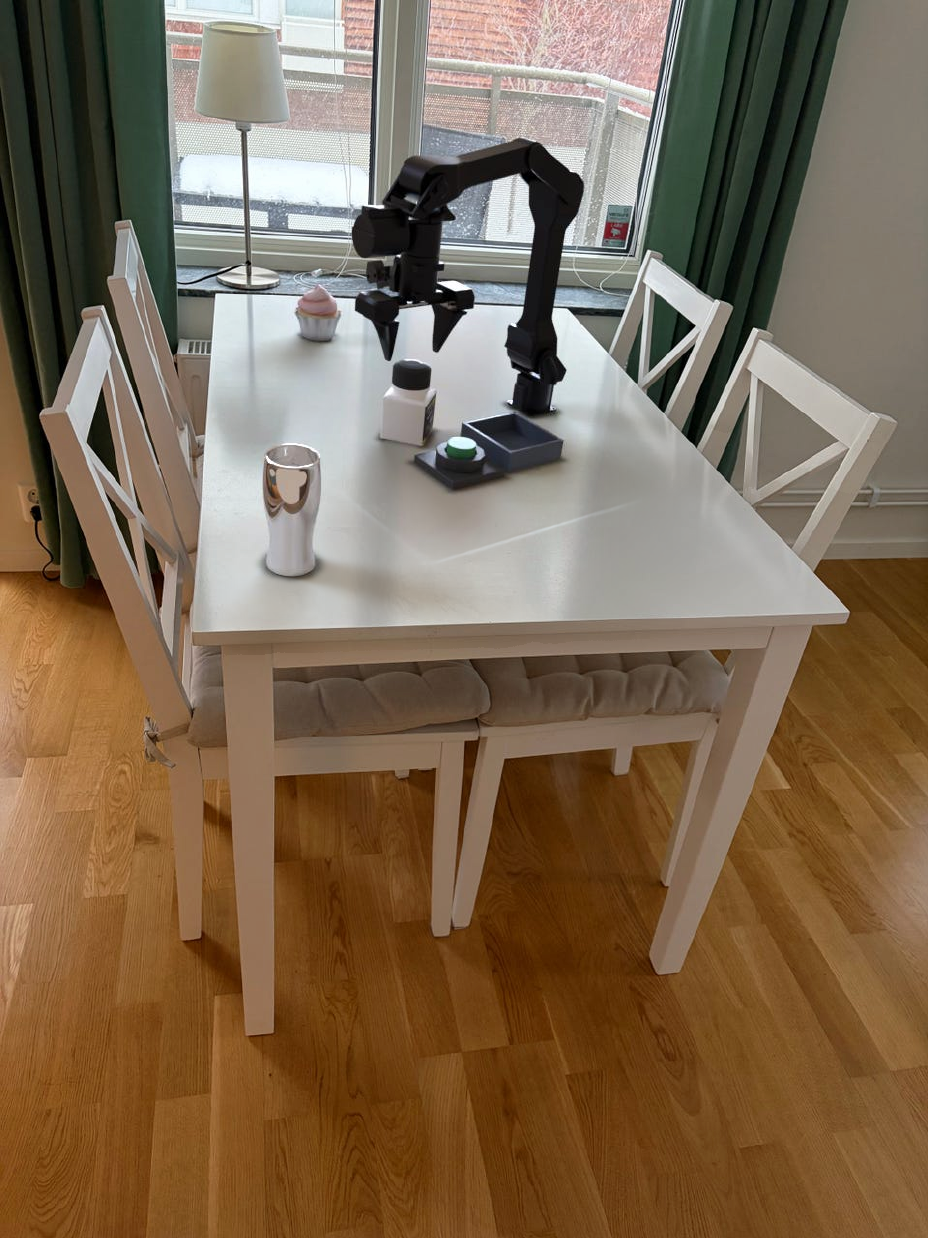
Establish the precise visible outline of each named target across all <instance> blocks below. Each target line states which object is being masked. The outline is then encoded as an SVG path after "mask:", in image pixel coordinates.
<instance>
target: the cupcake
mask: <svg viewBox="0 0 928 1238" xmlns="http://www.w3.org/2000/svg"><path fill="white" fill-rule="evenodd" d="M338 308H339V306H338V302H337V300H336V298H335V297H334V296H332V294H330V293H329V291H327V289H326V288H324V287H323V286H321V285H320V284H318V283H316V285H315V287H314V289H311V290H308V291H307V292H305V293H304V294H303V295H302V297H300V298H299V299H298V300H297V306H296V307H294V311H293V313H294V316H295V317H296V319H297V321H298V325H299V331H300V335H301V336H302V337H303V338H305V339H307V340H311V341H315V342H323V341H330V340H332V339H333V338H334V336H335V335H336V330H337V327H338V323H339V321H340V320H341V317H342V310H340V309H338Z"/></svg>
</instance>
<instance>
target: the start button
mask: <svg viewBox="0 0 928 1238" xmlns="http://www.w3.org/2000/svg"><path fill="white" fill-rule="evenodd" d="M446 442H447V450H446V453H447V454H448V455H450V456H452V457H456V458H465V459H468V458H472V457H474V456H475V451H476V443H475V442H474V441H473V440H471V439H469V438H465V437H461V436H453V437H450V438H448V439H447V441H446Z"/></svg>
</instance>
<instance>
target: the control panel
mask: <svg viewBox="0 0 928 1238" xmlns="http://www.w3.org/2000/svg"><path fill="white" fill-rule="evenodd" d="M446 450H447V441H445V442H444V441H443V442H441V443H440V444H438V446H436V449H434V450H429V451H425V452H421V453H420V452H419V453H416V454H414V455H413V464H415V465H416V466H417V467H419V468H420V469H421V470H423V471H424V472H426V473H427V474H429V475H430V476H432V477H433V478H434V479H436V480H437V481H439V482H440V483H441V484H443V485H445V487H447V488H449V489H450V490H451V491H454V490H458V489H462V488H466V487H471V486H475V485H478V484H481V483H485V482H490V481H493V480H498V479H501V478H505V474H506V473H505V472H506V471H505V469H504V468H503V467H501V466H499V465H498V464H496V463H495V462H493V461H492V460H490V459H489V458H487V457H486V456H485V453H484V450H483V449H482V448H480V447H479V446H477V445H476V451H475V456H474V457H472V458H468V459H465V458H456V457H452V456H450V455H448V454H447V453H446Z"/></svg>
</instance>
